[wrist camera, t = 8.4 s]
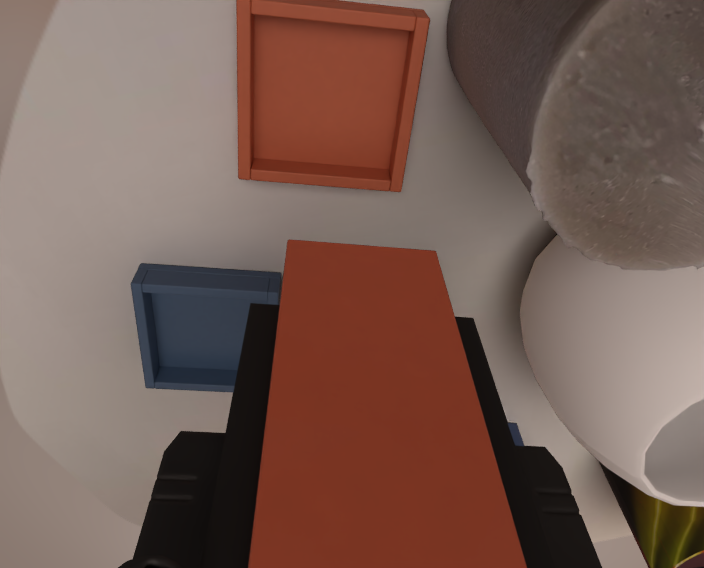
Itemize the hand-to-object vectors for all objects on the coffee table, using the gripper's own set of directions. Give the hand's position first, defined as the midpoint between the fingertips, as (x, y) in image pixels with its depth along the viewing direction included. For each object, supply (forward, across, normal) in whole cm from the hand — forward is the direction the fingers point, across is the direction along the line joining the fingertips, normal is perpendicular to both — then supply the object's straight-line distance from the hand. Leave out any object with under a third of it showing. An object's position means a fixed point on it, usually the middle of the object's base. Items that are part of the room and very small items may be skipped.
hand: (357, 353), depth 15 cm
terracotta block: (+2, 0, 0) cm, 2 cm away
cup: (+18, +17, -8) cm, 26 cm away
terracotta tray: (+17, -1, +1) cm, 18 cm away
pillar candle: (+18, +9, +5) cm, 21 cm away
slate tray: (+17, -7, -14) cm, 23 cm away
